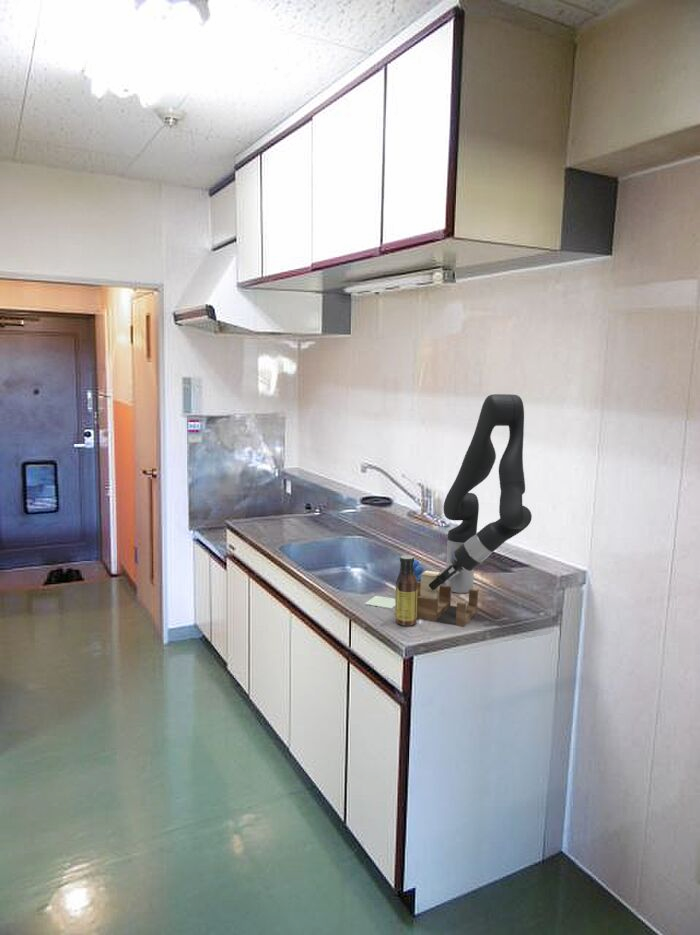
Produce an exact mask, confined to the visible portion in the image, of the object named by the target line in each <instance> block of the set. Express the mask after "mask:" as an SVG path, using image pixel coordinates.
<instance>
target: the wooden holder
mask: <svg viewBox="0 0 700 935" xmlns="http://www.w3.org/2000/svg"><path fill="white" fill-rule="evenodd" d="M420 589H421V582H417V618H416V620H417V619H419V620H424V621H429V622H434V623H435V622H436V623H440V624H442V623H443V624H448V625H452V626H460V627H465V626H467V624H468V623H469V621H470V620H471V619H472V618H474V616H475V615H476V613H477V612H478V605H479V602H478V600H479V590H478V589H473V590H472V589H470V590H469V592H468V605H467V603H466V602H460V601H458V602H456V606H455V605H452V604H451V603H452V602H451V601H452V592H451V586H446V585H444V584H441V585H440V591H439V605H438V599H434V598H428V597H421V596H420Z"/></svg>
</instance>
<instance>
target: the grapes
mask: <svg viewBox="0 0 700 935" xmlns="http://www.w3.org/2000/svg"><path fill="white" fill-rule="evenodd" d="M413 570H414V571H413V573H414V575H415V576H416V579H417V582H421V574H422V573H424V568H423V566H422V565H420V562H419V560H418V559H414V563H413Z"/></svg>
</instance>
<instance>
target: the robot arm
mask: <svg viewBox="0 0 700 935" xmlns="http://www.w3.org/2000/svg"><path fill="white" fill-rule="evenodd" d="M499 426H500V427H508V430H509V432H508V433H509V434H508V436H509V437H508V442H507V445H506V447H505V449H504V452H503V453H502V456H501V458H500V461H499V465H498V479H499V488H500V496H499V508H498V513H499V518H498V519H497V520H495V521H492V522H490V523H488V524H486V525H485V526H484V527H483V528H481V529H480V530H479V531H477V530H478V520H479V519H478V518H479V512H480V508H479V507H480V503H479V498H478V495H477V494H475V493H473V492H470V491H471V490H473V489H474V488H476V487H478V485H480V484H481V483H482V482H484V481H485V480H486V479H487V478H488V476H489V475H490V474H491V472H492V469H493V467H494V464H495V462H496V458H497V454H496V450H495V446H494V444H493V441H492V438H491V436H492V433H493V430H494V428H495V427H499ZM524 426H525V406H524V403H523V400H522V398H521V397H520V395H517V394H512V393H511V394H509V393H508V394H507V393H506V394H504V393H503V394H501V393H500V394H499V393H497V394H490V395H488V396H486V398H485V399H484V401H483V404H482V406H481V409H480V413H479V416H478V420H477V423H476V427H475V430H474V433H473V436H472V438H471V441H470V444H469V446H468V448H467V450H466V452H465V455H464V457H463V460H462V462H461V465H460V468H459V471H458V473H457V476H456V477H455V480H454V481H453V483H452V485H451V487H450V488H449V490H448V492H447V494H446V497H445V499H444V503H443V509H442V510H443V514H444V517H445V518H446V519H447V520H449V521H461V523H459V525H457V526H455V527H453V528H452V529H450V530H448V531H447V543H446V546H447V548H446V565H445V566H446V567H444V568H443V569H442V571H441V572H440V575H438V576H437V578H436V579H435V580H434V581H432V582H431V583H430V584H429V587H430V588H431V589H432V590H435V589H436V588H437V587H438V586H439V585H444V583H445V586H451V593H457V594H458V593H459V594H466V593H467V594H469V590H470V589H472V590H474V571H475V568H476V567H478V566H479V565H480V564H482V563H483V562H484V561H485V560H486V559H487V558H488V557H490V555H491V554H492V553H494V552H495V551H496V550H497V549H498V548H500V547H501V546H502V545H503V544H504V543H505V542H506V541H508V540H510V539H511V538H513V537H515V536H517V535H518V534H520V533H521V532H522V531H524V530H525V529H526V528H527V527H528V526H529V525H530V524H531V521H532V518H533V516H532V512H531V510H530V509H529V508H528V507H526V506H525V505H524V504H523V495H524V494H525V493H526V482H525V480H526V479H525V472H524V459H523V451H524V437H525V436H524V434H525V433H524V432H525V431H524V430H525V427H524Z"/></svg>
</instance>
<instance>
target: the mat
mask: <svg viewBox="0 0 700 935" xmlns="http://www.w3.org/2000/svg"><path fill="white" fill-rule="evenodd" d="M364 605H365V606H369V605H371V606H370V607H375V606H377V607H376V608H381V607H382V608H383V609H387V610H393V609H394V608H395V606H396V598H391V597H388V596H387V597H385V596H379V595H375V596H373V597H372V598H370V599H369V600H368V601H366V602H365V603H364Z"/></svg>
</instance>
